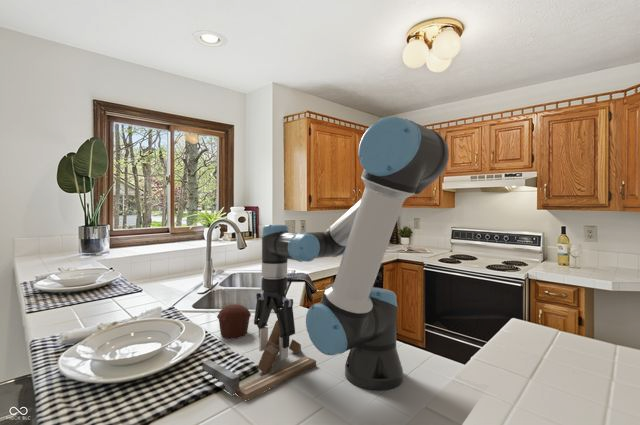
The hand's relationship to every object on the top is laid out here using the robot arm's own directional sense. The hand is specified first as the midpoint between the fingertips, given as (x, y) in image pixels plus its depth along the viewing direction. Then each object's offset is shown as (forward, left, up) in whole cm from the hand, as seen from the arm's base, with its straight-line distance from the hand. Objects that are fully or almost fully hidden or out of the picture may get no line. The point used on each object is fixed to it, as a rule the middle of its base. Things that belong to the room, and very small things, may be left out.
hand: (273, 353), depth 97 cm
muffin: (+25, -4, -2) cm, 26 cm away
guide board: (-4, +8, -1) cm, 9 cm away
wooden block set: (-1, 0, -2) cm, 2 cm away
